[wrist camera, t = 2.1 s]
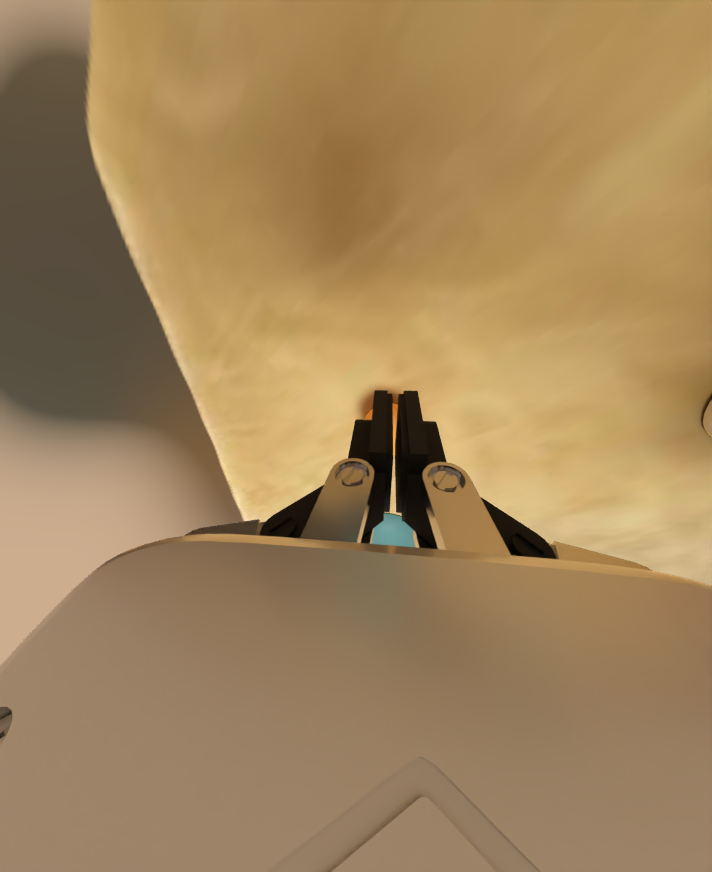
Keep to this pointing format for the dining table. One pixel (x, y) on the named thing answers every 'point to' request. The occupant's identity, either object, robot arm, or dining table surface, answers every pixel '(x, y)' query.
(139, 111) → the dining table surface
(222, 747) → the robot arm
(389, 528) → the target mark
